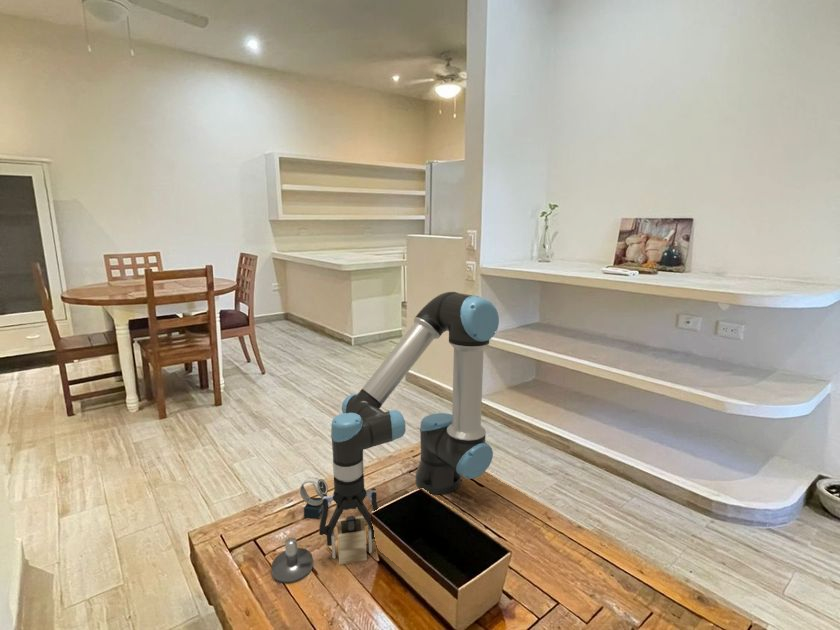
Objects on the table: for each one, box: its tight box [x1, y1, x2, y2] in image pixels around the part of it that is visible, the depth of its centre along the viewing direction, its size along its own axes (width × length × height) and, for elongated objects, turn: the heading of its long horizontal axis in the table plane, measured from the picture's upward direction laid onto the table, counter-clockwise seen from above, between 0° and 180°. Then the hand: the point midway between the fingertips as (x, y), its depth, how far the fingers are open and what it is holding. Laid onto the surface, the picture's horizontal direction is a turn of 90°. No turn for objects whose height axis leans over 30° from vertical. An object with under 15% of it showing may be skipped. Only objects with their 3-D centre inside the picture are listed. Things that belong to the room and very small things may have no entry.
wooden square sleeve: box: [336, 515, 368, 565], centre depth 115 cm, size 7×7×8 cm
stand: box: [345, 515, 356, 533], centre depth 115 cm, size 4×4×10 cm
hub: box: [270, 537, 314, 584], centre depth 110 cm, size 10×10×8 cm
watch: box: [299, 477, 329, 520], centre depth 131 cm, size 6×8×11 cm
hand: (352, 551), depth 116 cm, fingers open, 9 cm apart
